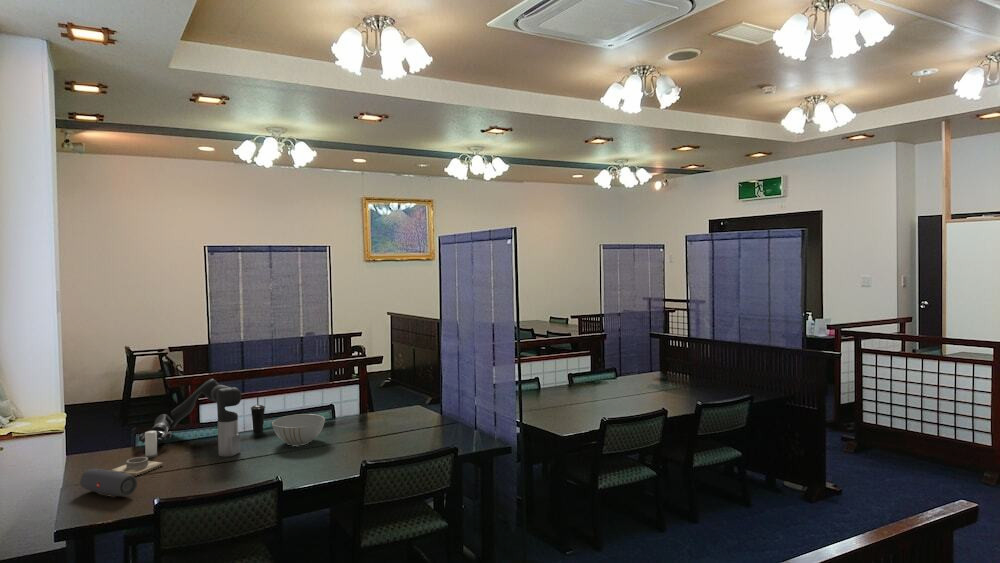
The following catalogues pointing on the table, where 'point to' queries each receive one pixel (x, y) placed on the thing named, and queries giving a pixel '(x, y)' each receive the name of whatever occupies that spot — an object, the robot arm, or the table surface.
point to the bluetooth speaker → (108, 482)
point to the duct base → (138, 471)
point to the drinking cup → (258, 417)
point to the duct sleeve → (151, 444)
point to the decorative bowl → (298, 428)
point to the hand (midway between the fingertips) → (152, 439)
